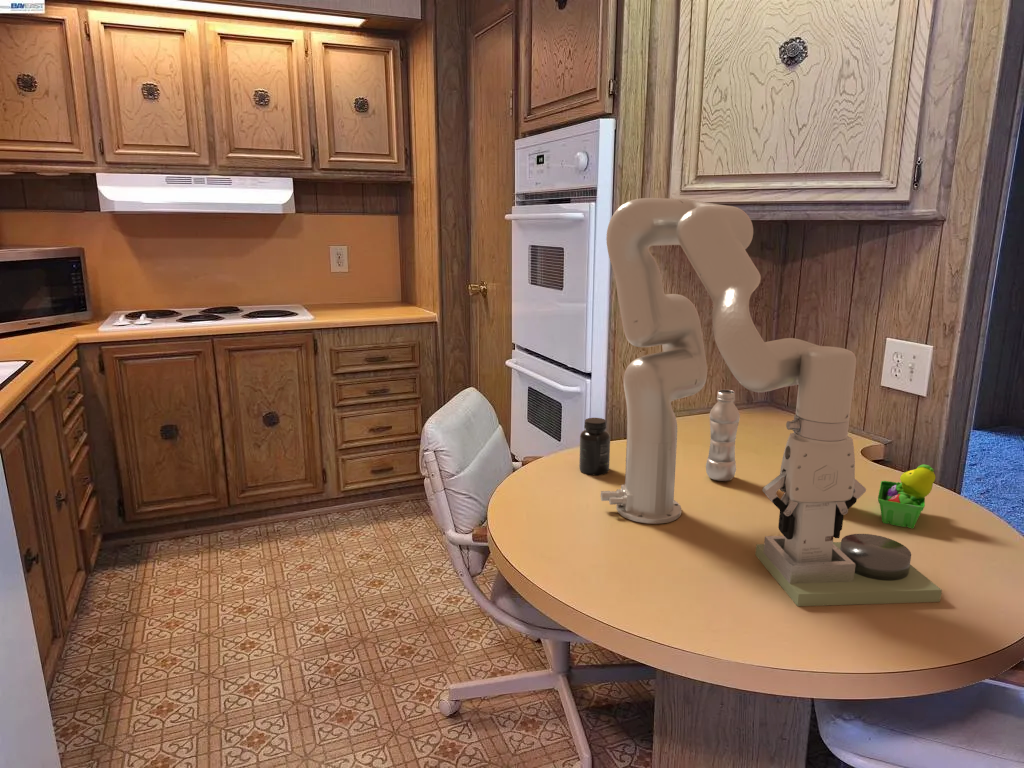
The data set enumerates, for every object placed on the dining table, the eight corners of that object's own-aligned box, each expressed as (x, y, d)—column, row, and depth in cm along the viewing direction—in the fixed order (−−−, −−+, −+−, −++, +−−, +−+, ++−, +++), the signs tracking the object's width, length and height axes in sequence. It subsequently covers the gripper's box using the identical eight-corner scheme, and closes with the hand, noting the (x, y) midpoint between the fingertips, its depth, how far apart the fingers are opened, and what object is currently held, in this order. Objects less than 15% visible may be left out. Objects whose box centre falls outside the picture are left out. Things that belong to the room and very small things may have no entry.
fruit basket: (877, 503, 139) (884, 450, 137) (928, 512, 135) (936, 457, 132) (874, 524, 130) (881, 468, 127) (928, 534, 125) (937, 477, 123)
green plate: (797, 606, 103) (800, 576, 101) (755, 555, 118) (757, 528, 117) (939, 601, 104) (944, 571, 102) (879, 551, 119) (883, 524, 118)
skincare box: (798, 575, 108) (802, 503, 105) (781, 561, 112) (785, 492, 109) (833, 570, 109) (838, 498, 106) (815, 557, 113) (820, 488, 110)
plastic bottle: (703, 482, 151) (709, 394, 146) (706, 471, 157) (712, 386, 152) (733, 486, 148) (740, 396, 143) (736, 475, 154) (743, 389, 149)
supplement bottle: (606, 464, 161) (608, 415, 158) (611, 475, 155) (613, 424, 152) (577, 465, 161) (578, 416, 158) (581, 476, 155) (582, 425, 152)
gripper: (775, 436, 101) (765, 547, 105) (890, 434, 101) (875, 544, 106) (755, 421, 108) (746, 526, 112) (863, 419, 109) (850, 523, 113)
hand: (809, 534), depth 109 cm, fingers open, 6 cm apart
